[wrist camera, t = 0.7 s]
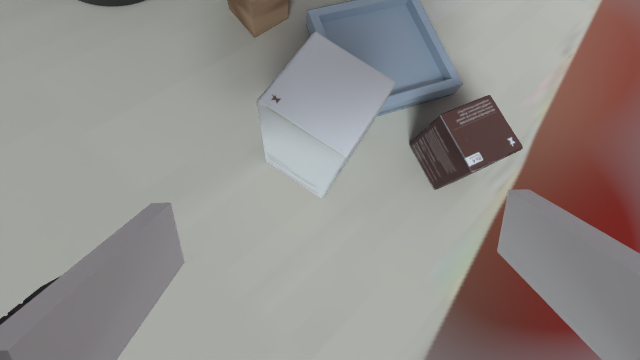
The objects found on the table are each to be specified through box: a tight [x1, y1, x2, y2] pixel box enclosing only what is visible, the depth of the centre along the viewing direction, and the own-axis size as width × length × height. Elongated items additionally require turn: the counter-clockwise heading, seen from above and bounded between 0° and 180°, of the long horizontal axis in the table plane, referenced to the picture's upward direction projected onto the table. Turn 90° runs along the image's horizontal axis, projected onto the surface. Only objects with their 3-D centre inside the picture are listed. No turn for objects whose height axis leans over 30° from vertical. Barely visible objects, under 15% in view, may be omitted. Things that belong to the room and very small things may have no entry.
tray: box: [306, 0, 463, 117], centre depth 36 cm, size 14×14×2 cm
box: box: [410, 95, 523, 190], centre depth 31 cm, size 6×6×7 cm
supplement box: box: [257, 32, 396, 198], centre depth 27 cm, size 7×7×13 cm
